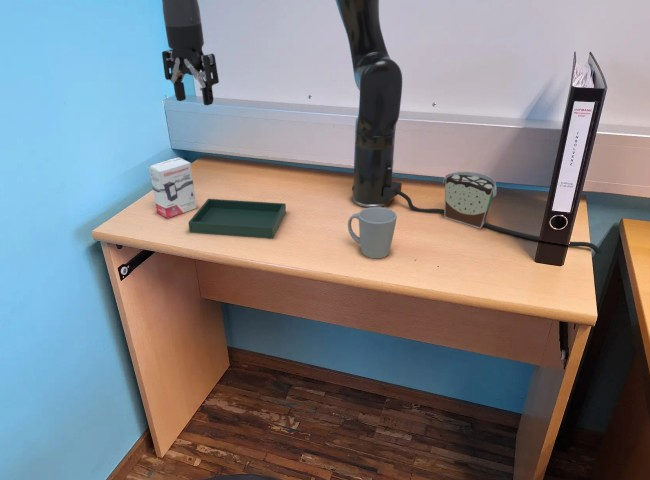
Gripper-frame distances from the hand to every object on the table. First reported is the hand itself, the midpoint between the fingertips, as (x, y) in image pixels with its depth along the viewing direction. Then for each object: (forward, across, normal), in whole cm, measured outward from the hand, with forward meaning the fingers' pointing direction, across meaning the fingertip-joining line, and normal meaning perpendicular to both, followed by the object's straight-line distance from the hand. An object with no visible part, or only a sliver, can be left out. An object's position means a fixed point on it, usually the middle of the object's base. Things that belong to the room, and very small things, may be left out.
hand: (194, 102), depth 122 cm
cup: (+25, -46, 0) cm, 52 cm away
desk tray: (+24, -14, +5) cm, 28 cm away
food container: (+25, -57, -26) cm, 68 cm away
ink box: (+24, +3, +8) cm, 26 cm away
